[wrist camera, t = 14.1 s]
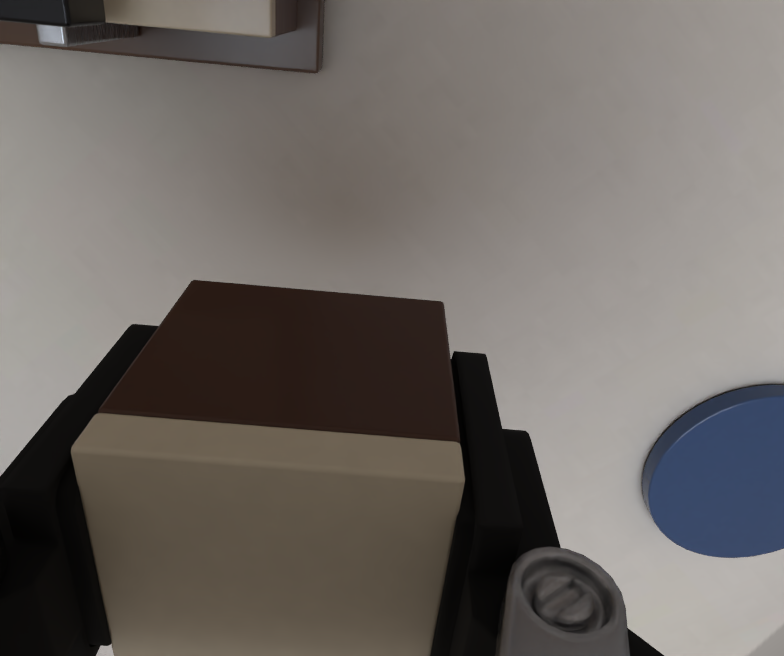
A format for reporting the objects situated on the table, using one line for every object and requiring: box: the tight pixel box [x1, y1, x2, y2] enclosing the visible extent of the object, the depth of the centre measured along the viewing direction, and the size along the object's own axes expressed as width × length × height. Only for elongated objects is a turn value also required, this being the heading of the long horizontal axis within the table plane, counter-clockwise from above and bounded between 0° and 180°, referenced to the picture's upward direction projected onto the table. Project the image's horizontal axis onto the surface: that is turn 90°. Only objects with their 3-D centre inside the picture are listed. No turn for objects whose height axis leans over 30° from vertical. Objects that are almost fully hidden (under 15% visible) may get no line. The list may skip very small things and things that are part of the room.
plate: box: [642, 385, 784, 558], centre depth 24 cm, size 8×8×1 cm
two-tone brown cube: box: [71, 280, 465, 656], centre depth 10 cm, size 4×4×4 cm
